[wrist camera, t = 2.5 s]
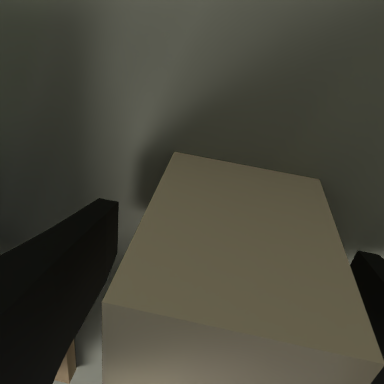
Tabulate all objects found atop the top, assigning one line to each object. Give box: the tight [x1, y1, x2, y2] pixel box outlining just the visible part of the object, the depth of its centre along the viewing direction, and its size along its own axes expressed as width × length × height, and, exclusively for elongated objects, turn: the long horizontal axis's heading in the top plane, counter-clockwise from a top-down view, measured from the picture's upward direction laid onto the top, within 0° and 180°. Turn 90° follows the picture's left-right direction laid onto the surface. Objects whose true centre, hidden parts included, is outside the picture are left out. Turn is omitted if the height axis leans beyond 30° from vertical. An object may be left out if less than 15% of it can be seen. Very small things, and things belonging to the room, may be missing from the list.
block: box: [102, 152, 384, 384], centre depth 9 cm, size 4×4×6 cm
